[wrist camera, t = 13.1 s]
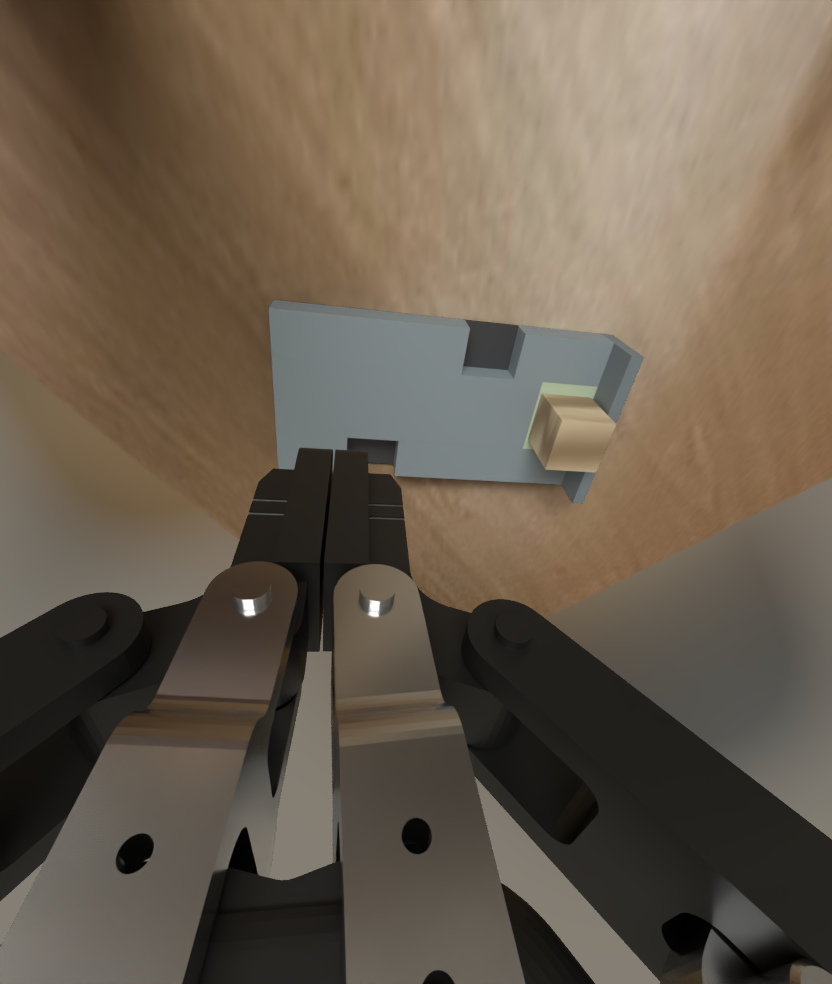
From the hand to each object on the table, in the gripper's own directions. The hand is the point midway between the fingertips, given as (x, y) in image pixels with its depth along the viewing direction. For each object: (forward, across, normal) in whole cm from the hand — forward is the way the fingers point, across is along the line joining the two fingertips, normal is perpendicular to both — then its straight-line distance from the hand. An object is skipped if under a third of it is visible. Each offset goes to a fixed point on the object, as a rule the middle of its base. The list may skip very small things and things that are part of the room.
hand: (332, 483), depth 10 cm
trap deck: (+29, -8, +10) cm, 32 cm away
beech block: (+27, -18, +10) cm, 34 cm away
